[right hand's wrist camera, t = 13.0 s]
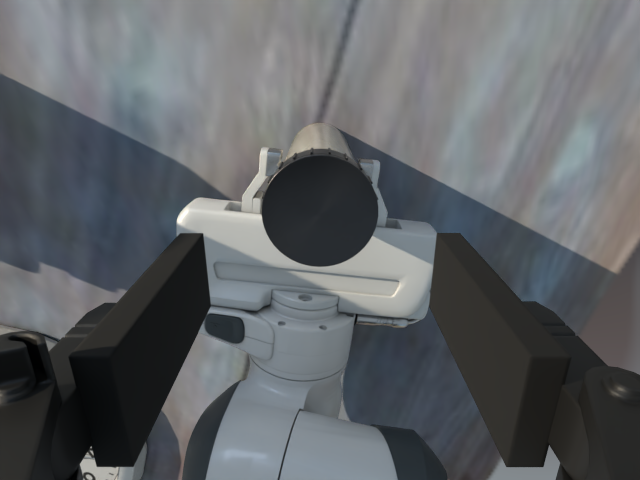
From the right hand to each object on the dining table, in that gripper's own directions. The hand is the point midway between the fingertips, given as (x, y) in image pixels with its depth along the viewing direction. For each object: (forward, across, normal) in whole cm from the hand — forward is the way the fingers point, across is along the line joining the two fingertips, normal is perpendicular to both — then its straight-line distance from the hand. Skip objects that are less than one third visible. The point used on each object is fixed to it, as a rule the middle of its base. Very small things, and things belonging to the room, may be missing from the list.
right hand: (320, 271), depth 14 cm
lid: (+7, 0, 0) cm, 7 cm away
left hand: (+18, 0, -1) cm, 18 cm away
